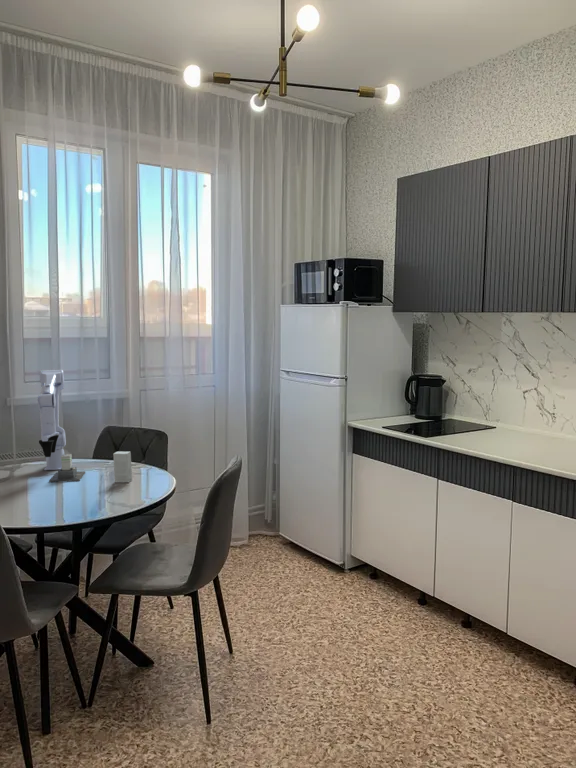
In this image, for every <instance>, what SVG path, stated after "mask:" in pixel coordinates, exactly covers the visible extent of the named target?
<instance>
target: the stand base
mask: <svg viewBox="0 0 576 768" xmlns="http://www.w3.org/2000/svg"><path fill="white" fill-rule="evenodd" d="M77 468H78V467H77V466H74V467H73V466H72V471H62V468H61V469H60V470H58V471H57V472H55V473H54V474H53V475H52V477H51V478H50V479H48V482H49V483H56V482H55V481H67V482H80V481H81V480H80V479H82V478H84V476H85V474H86V471H85V470H84V471H83V470H81V471H77V470H78V469H77ZM83 475H84V476H83Z"/></svg>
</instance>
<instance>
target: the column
mask: <svg viewBox="0 0 576 768" xmlns="http://www.w3.org/2000/svg"><path fill="white" fill-rule="evenodd" d="M61 463H62V471H72V467H73V455H72V453H69V454H68V453H66V454H65V453H64V454H63V455H62V456H61Z"/></svg>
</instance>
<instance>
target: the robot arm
mask: <svg viewBox="0 0 576 768" xmlns="http://www.w3.org/2000/svg"><path fill="white" fill-rule="evenodd" d="M39 382H40V386H41V387H40V388H41V390H40V394H39V395H38V396H37V406H38V411H39V417H40V419H39V420H40V436H41V437H40V440H39V441H38V444H39V445H40V446H41V449H42V451H43V455H44V458H45V462H46V463H45V465H46V466H45V467H44V469H43V471H57V470H58V471H59V470H60V469H61V468H62V463H61V456H62V455H63V454H65V450H64V447H66V445H67V436H66V430H65V429H64V428H63V427H61V426H60V424H59V423H60V421H59V419H60V416H59V415H60V412H59V401H60V399H59V396H60V392H61V391H62V390H63V389H64V387H65V371H64V370H63V369H48V370H47V369H45V370H42V369H41V370H40V371H39Z"/></svg>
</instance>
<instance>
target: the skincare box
mask: <svg viewBox="0 0 576 768" xmlns="http://www.w3.org/2000/svg"><path fill="white" fill-rule="evenodd" d="M112 455H113V471H114V473H113V476H114V483H130V482H131V481H132V480H133V473H132V472H133V471H132V470H133V469H132V453H131V451H115V452H114V453H113V454H112Z"/></svg>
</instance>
